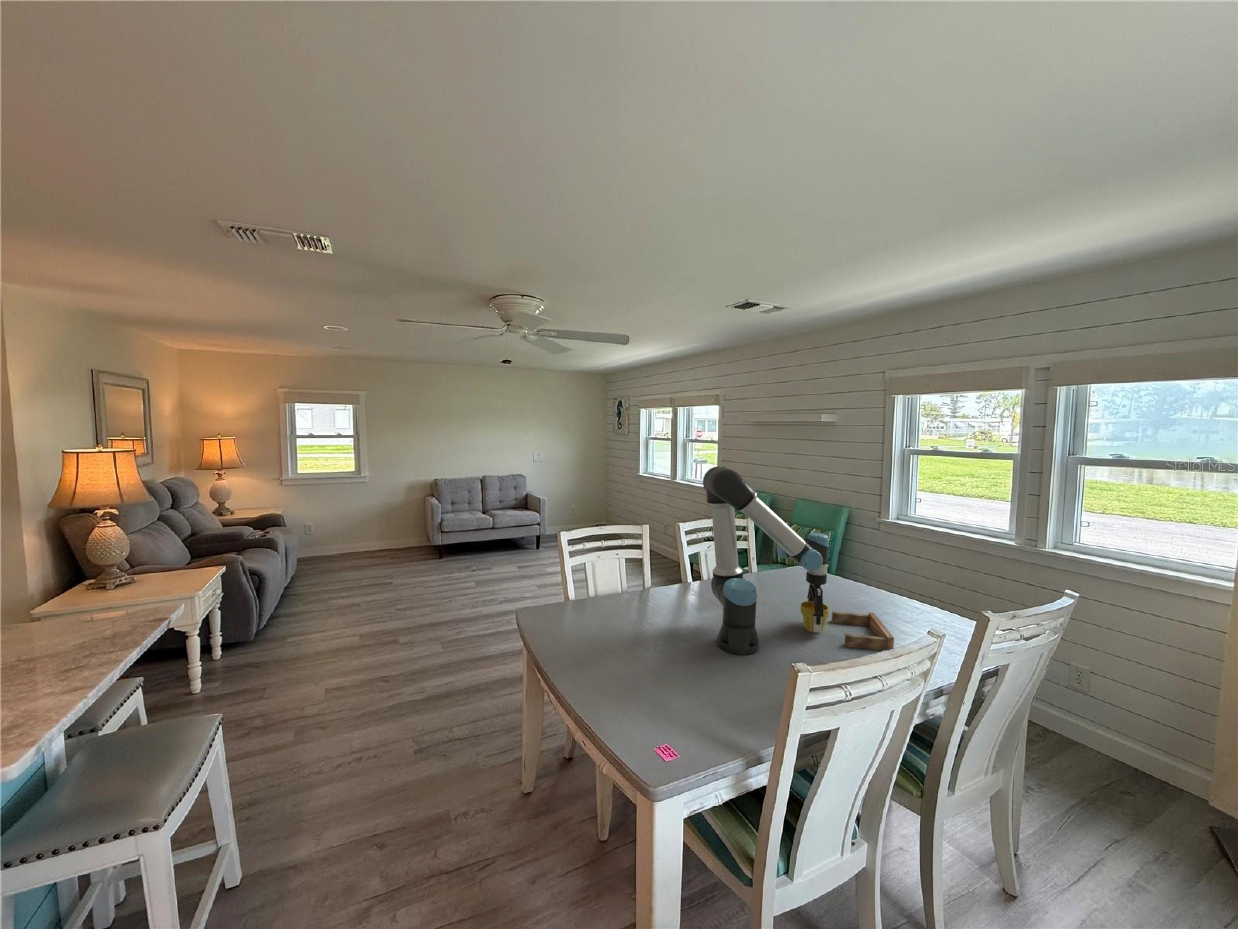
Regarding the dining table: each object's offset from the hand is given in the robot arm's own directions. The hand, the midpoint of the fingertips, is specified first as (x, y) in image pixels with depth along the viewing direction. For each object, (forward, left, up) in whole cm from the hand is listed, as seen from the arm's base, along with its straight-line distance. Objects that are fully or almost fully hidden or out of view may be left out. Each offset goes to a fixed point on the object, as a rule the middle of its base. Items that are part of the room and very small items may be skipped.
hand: (814, 625), depth 196 cm
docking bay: (+16, -1, -2) cm, 16 cm away
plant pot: (0, 0, -2) cm, 2 cm away
